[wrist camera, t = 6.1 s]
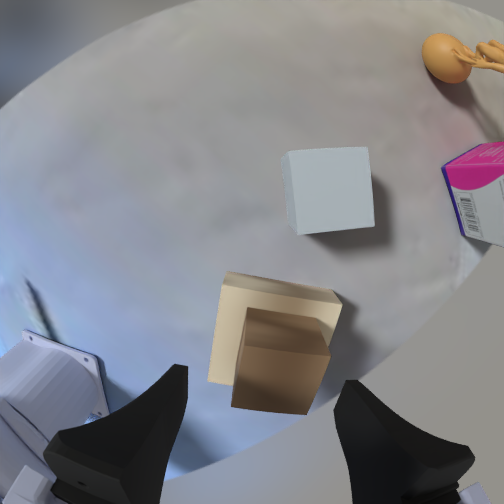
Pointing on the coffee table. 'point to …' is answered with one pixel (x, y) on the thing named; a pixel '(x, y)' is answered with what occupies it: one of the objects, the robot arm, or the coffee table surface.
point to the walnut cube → (279, 362)
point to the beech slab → (266, 298)
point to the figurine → (459, 57)
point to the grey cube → (328, 189)
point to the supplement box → (478, 191)
